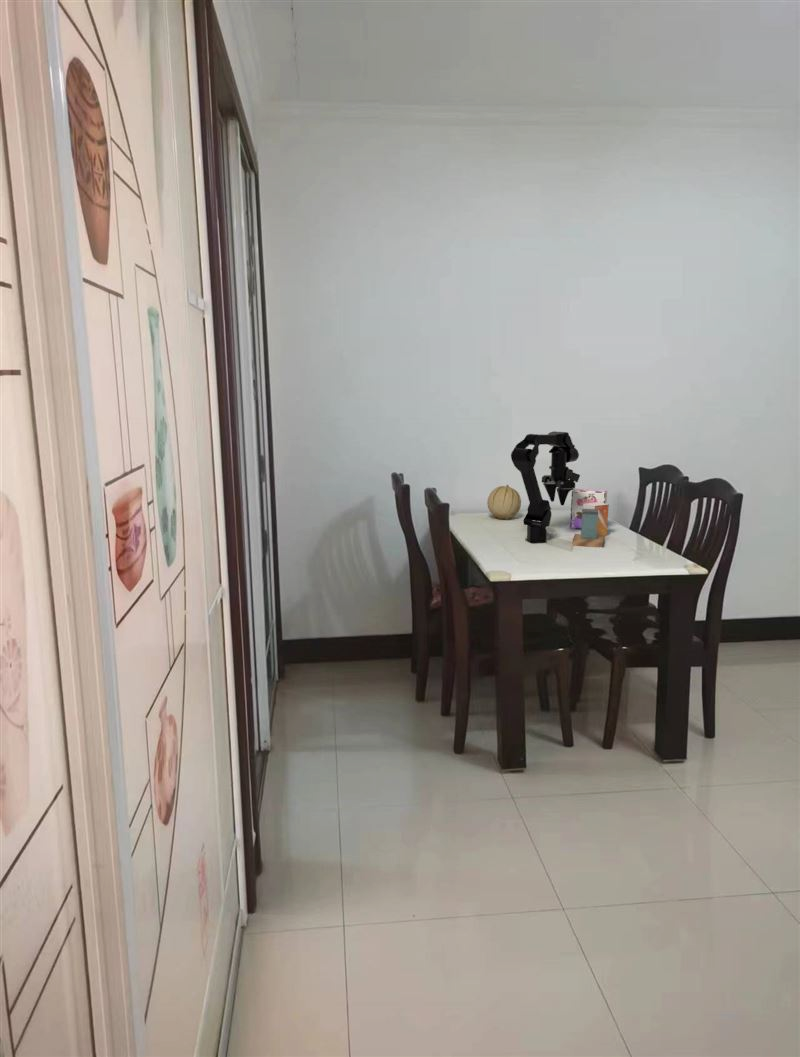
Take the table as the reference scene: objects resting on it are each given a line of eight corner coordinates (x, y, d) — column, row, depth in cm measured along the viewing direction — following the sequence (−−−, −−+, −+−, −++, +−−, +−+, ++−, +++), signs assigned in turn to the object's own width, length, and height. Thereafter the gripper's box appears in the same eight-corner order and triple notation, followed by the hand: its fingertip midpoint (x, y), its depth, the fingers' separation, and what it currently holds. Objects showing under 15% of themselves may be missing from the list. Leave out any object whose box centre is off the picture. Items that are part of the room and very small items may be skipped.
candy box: (569, 528, 331) (571, 489, 327) (571, 526, 336) (573, 487, 333) (603, 531, 326) (605, 491, 322) (605, 528, 331) (607, 489, 328)
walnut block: (572, 547, 299) (572, 539, 298) (574, 541, 309) (575, 533, 308) (602, 549, 295) (602, 541, 295) (603, 543, 306) (604, 535, 305)
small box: (593, 538, 312) (594, 505, 309) (581, 535, 317) (582, 503, 314) (607, 536, 316) (609, 503, 314) (595, 533, 321) (597, 501, 319)
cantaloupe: (485, 520, 347) (486, 486, 344) (488, 515, 361) (489, 482, 358) (519, 522, 344) (520, 488, 341) (521, 516, 358) (522, 483, 355)
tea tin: (581, 538, 299) (582, 511, 297) (580, 535, 304) (582, 508, 302) (596, 539, 298) (598, 512, 296) (595, 536, 303) (597, 509, 301)
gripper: (588, 466, 303) (586, 506, 306) (567, 460, 321) (566, 498, 324) (561, 467, 301) (560, 507, 304) (541, 461, 318) (540, 500, 322)
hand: (557, 503), depth 313 cm, fingers open, 9 cm apart
